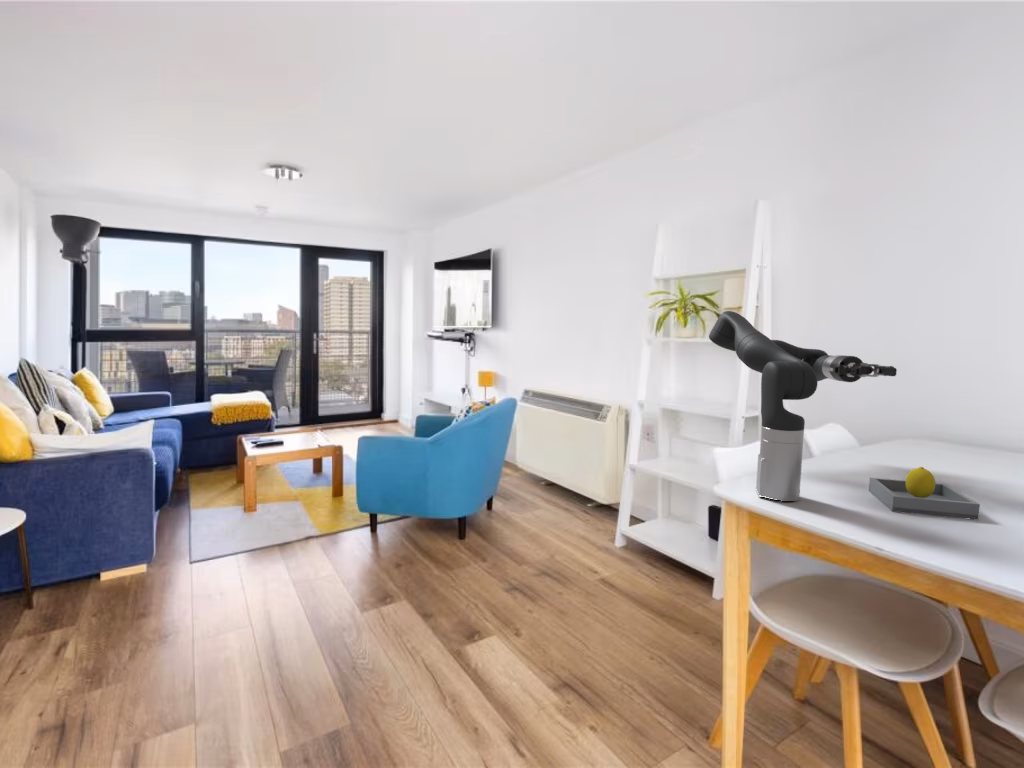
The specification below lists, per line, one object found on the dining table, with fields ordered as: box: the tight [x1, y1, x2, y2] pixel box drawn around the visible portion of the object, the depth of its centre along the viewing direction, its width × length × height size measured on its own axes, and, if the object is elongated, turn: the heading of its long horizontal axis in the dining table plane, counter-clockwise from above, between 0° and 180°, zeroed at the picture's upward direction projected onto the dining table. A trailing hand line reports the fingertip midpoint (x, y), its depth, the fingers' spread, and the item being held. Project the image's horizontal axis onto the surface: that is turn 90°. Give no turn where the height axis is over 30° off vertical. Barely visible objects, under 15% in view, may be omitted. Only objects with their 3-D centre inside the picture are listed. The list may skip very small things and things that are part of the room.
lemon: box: [905, 466, 936, 498], centre depth 124 cm, size 6×6×8 cm
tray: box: [868, 477, 981, 520], centre depth 124 cm, size 16×16×4 cm
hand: (877, 371), depth 137 cm, fingers open, 8 cm apart
